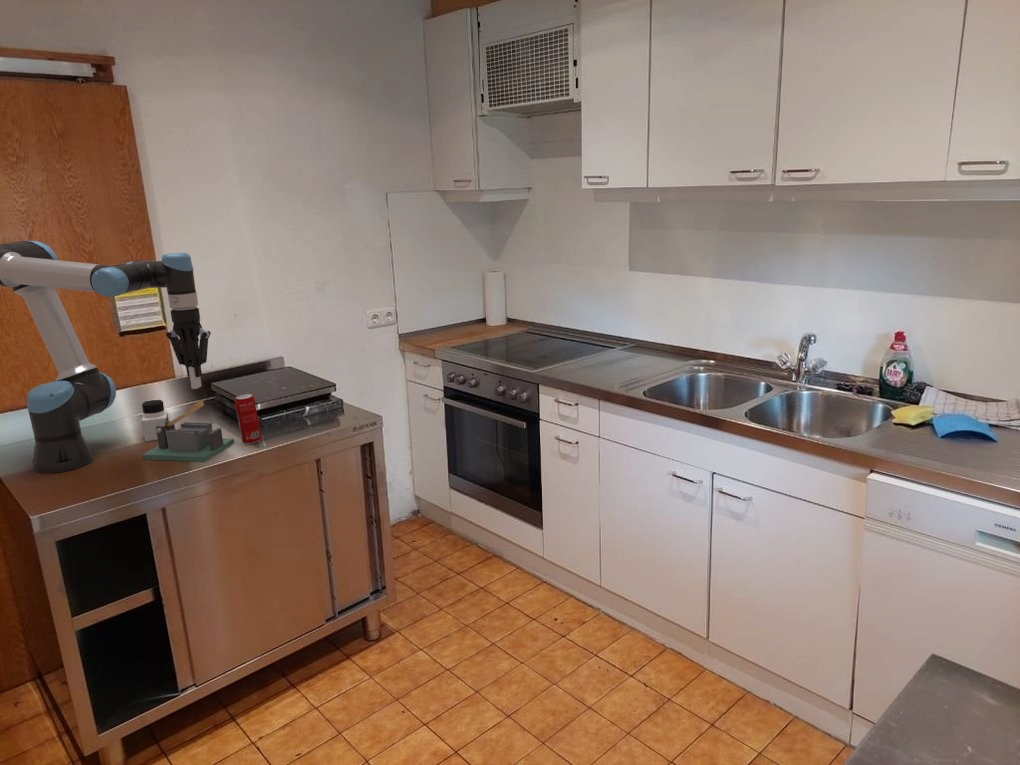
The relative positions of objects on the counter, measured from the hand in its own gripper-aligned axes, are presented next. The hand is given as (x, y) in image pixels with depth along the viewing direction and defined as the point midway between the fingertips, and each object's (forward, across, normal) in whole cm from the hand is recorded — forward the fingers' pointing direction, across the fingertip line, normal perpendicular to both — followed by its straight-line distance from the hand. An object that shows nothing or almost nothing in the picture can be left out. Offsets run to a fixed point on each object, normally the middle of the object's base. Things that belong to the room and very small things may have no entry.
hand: (196, 387), depth 218 cm
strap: (+10, -6, 0) cm, 11 cm away
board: (+20, -6, 0) cm, 21 cm away
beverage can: (+20, +9, +10) cm, 24 cm away
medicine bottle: (+20, -24, +11) cm, 33 cm away
